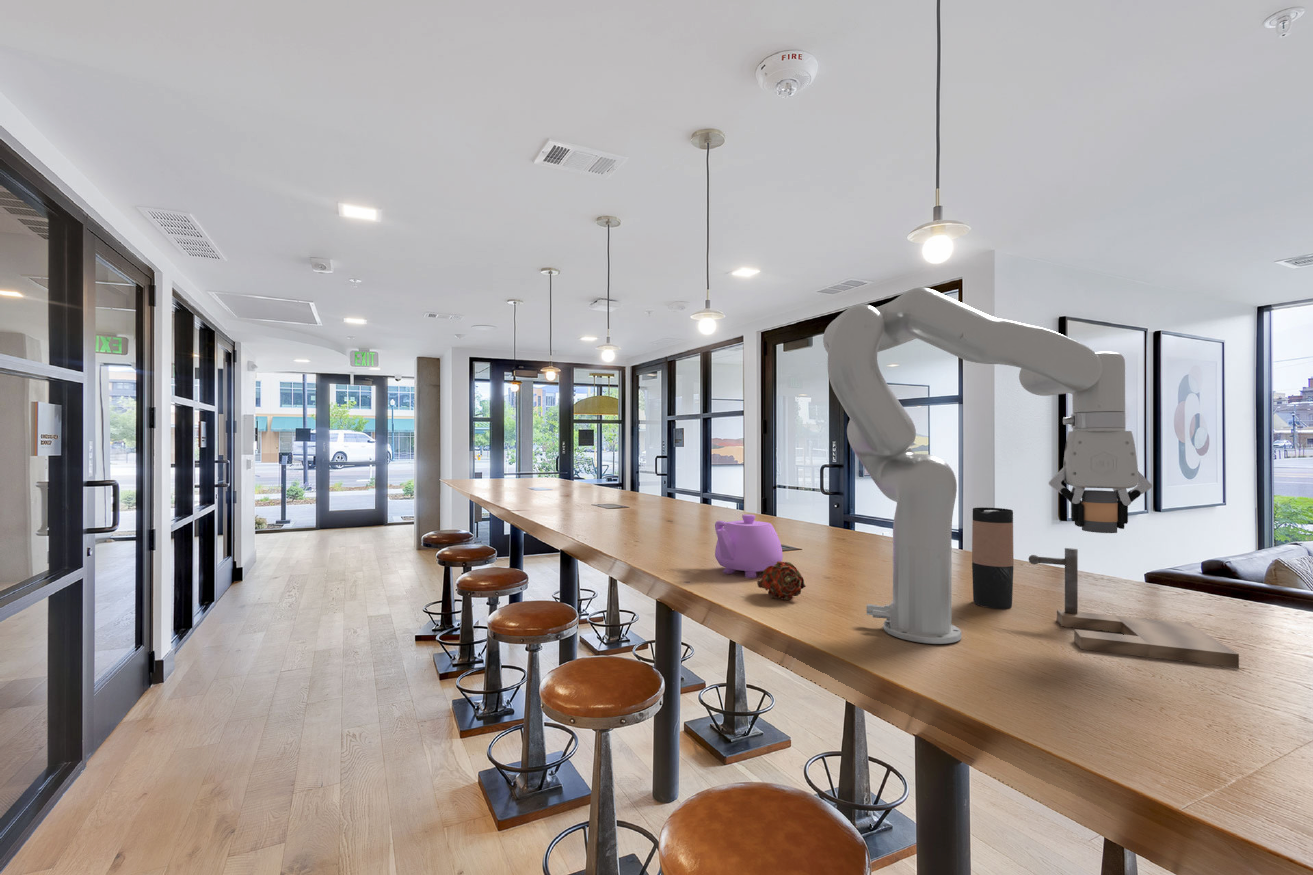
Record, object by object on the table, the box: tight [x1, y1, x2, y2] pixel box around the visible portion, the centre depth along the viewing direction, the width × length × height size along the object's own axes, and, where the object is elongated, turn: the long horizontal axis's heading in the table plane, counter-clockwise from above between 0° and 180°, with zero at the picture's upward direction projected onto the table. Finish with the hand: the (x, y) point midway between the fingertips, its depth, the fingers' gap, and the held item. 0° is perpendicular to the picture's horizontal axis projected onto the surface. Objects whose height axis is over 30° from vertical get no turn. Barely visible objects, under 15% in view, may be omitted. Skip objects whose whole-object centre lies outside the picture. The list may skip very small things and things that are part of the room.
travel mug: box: [971, 506, 1015, 610], centre depth 127 cm, size 8×8×20 cm
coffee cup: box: [1081, 489, 1118, 534], centre depth 106 cm, size 5×5×7 cm
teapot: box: [714, 514, 784, 579], centre depth 157 cm, size 20×20×15 cm
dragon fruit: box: [756, 561, 806, 601], centre depth 132 cm, size 8×8×12 cm
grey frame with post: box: [1028, 547, 1240, 669], centre depth 105 cm, size 25×18×14 cm
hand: (1098, 525), depth 106 cm, fingers closed on coffee cup, 5 cm apart
